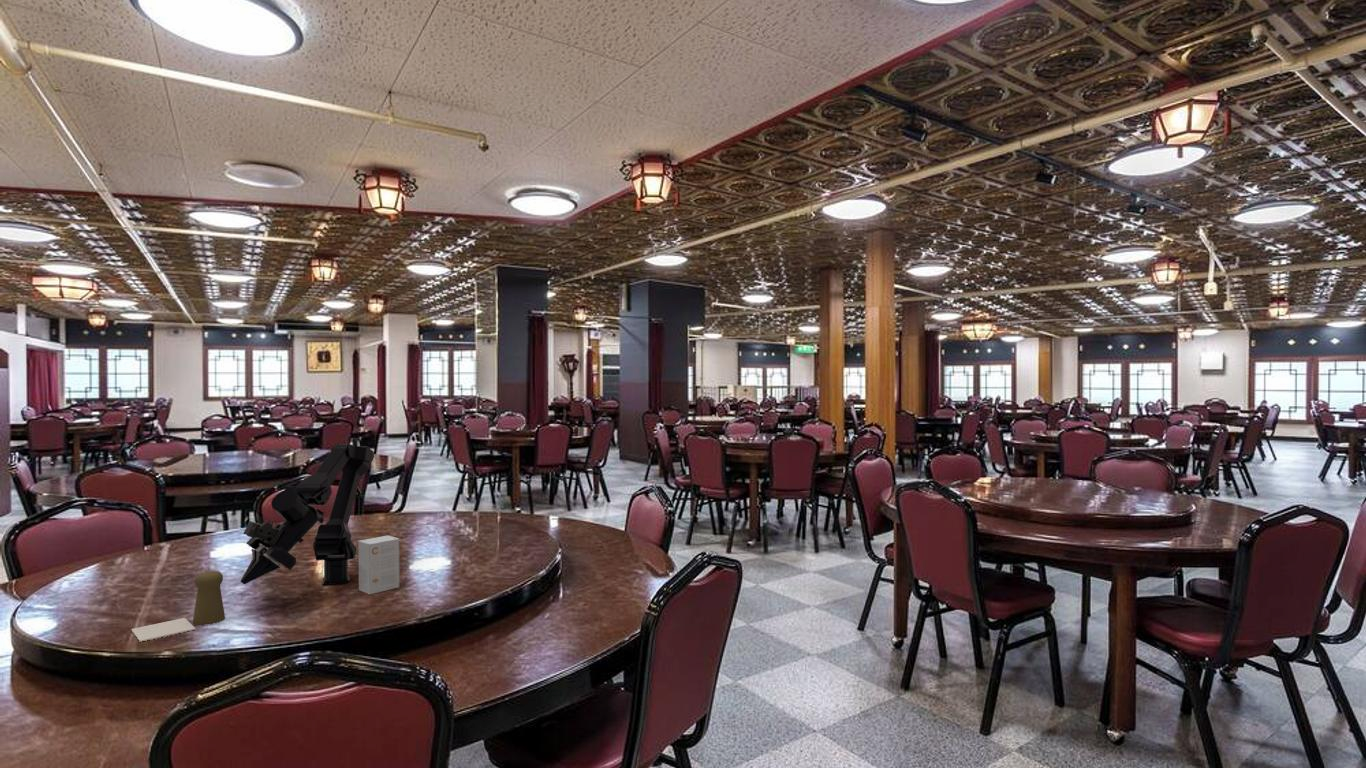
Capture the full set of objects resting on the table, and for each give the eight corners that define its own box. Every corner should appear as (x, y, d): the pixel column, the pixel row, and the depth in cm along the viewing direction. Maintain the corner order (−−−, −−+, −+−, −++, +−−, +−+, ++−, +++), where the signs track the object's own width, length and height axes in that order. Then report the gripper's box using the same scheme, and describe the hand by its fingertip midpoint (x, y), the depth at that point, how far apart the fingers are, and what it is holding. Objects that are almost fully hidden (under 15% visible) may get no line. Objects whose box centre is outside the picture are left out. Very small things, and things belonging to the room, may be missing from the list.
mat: (184, 619, 152) (184, 617, 152) (195, 630, 145) (195, 628, 145) (131, 630, 145) (131, 629, 145) (139, 642, 138) (139, 640, 138)
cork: (231, 617, 153) (231, 569, 153) (205, 626, 147) (205, 576, 147) (212, 615, 155) (212, 567, 155) (185, 623, 149) (185, 574, 149)
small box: (388, 583, 179) (388, 534, 180) (400, 587, 175) (399, 538, 175) (357, 590, 173) (357, 540, 173) (369, 595, 169) (369, 543, 169)
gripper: (256, 503, 166) (202, 556, 158) (281, 512, 153) (224, 570, 145) (291, 530, 172) (241, 582, 164) (318, 541, 159) (265, 598, 151)
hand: (242, 582), depth 156 cm, fingers closed
